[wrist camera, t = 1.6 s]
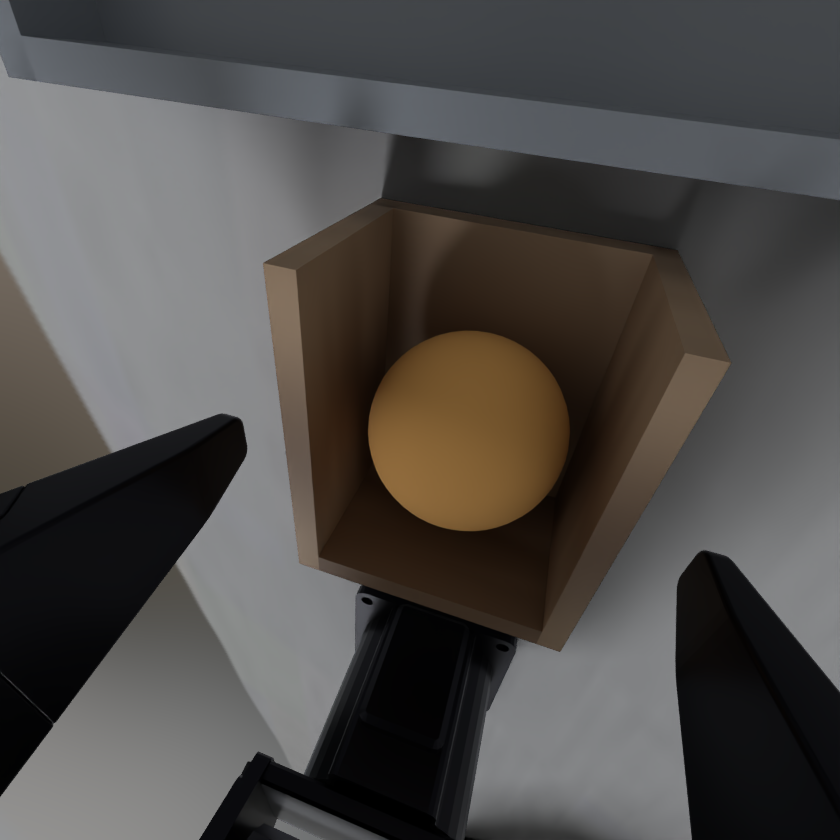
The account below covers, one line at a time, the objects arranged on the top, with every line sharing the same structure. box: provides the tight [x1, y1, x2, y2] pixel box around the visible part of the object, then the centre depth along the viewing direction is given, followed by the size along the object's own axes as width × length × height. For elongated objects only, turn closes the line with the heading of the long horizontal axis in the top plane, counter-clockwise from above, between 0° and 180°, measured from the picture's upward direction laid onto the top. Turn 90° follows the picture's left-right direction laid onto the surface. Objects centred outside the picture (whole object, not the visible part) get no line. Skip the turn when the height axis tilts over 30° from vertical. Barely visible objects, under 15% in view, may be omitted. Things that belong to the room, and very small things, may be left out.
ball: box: [368, 331, 570, 531], centre depth 9 cm, size 4×4×4 cm
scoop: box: [263, 198, 731, 652], centre depth 10 cm, size 7×6×4 cm
